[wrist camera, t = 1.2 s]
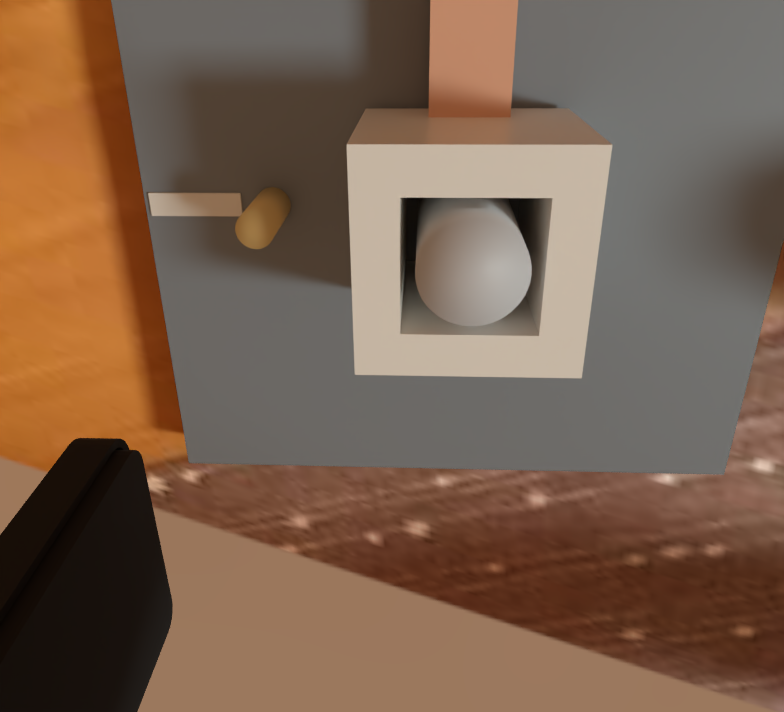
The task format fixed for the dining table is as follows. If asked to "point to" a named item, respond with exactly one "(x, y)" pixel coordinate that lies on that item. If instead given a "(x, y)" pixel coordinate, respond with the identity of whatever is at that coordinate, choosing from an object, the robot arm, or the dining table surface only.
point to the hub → (475, 180)
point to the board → (304, 275)
